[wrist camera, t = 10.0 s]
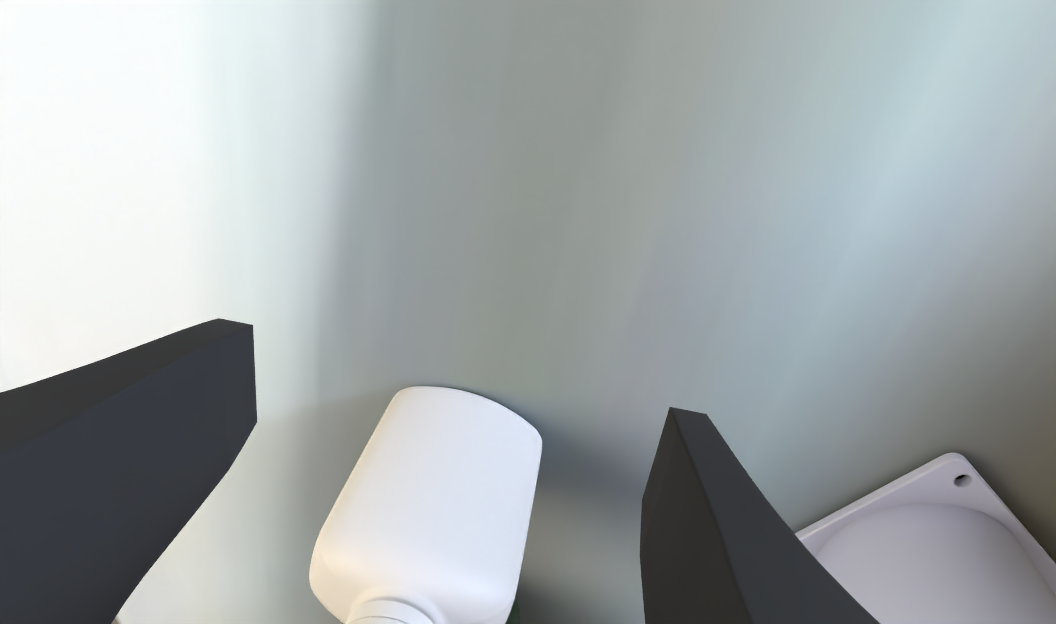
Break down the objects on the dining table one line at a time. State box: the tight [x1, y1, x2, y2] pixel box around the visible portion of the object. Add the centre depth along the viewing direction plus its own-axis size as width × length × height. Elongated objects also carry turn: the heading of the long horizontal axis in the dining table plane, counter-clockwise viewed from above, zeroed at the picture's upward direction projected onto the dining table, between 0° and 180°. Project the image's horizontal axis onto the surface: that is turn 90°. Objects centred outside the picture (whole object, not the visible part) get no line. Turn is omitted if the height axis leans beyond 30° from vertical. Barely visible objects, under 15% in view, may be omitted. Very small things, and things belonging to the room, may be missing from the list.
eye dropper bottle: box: [309, 386, 542, 624], centre depth 19 cm, size 4×6×12 cm
